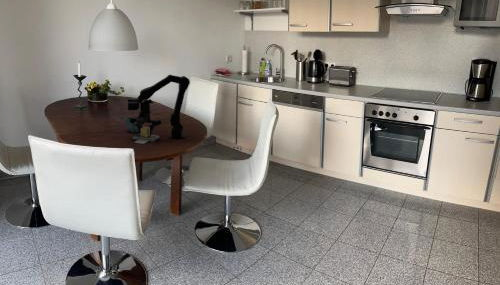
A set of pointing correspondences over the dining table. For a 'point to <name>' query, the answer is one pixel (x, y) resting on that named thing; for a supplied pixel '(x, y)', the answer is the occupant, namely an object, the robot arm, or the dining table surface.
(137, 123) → the robot arm
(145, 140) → the pad
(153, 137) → the grey flat frame
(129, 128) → the flower pot
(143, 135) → the brown wooden block
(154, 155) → the dining table surface
